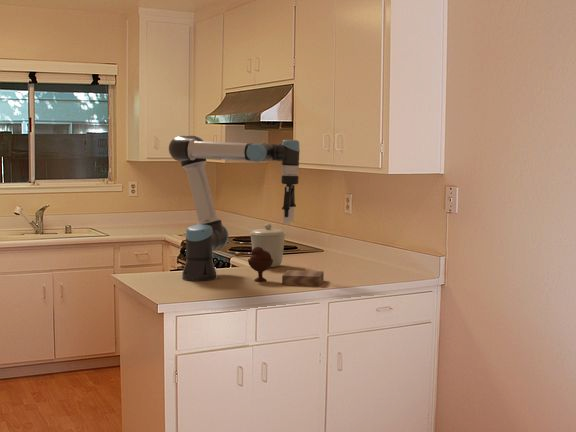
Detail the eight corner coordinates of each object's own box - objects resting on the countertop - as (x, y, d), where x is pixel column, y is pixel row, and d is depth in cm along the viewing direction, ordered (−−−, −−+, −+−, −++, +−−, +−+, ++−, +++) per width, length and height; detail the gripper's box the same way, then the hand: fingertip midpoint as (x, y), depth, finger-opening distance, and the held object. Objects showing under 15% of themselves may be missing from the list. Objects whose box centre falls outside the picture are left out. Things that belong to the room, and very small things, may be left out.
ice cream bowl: (251, 283, 332) (251, 249, 330) (245, 279, 342) (245, 245, 341) (275, 282, 334) (275, 248, 333) (269, 278, 345) (269, 245, 344)
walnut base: (282, 284, 330) (282, 275, 329) (287, 279, 343) (287, 270, 343) (319, 286, 327) (319, 276, 327) (323, 280, 341) (323, 271, 340)
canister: (264, 270, 367) (264, 226, 365) (242, 265, 381) (242, 223, 379) (293, 266, 378) (293, 223, 376) (270, 262, 392) (271, 220, 390)
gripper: (294, 176, 327) (293, 226, 329) (302, 174, 352) (300, 220, 354) (277, 176, 328) (275, 225, 330) (285, 173, 353) (284, 219, 355)
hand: (288, 223), depth 342 cm, fingers open, 13 cm apart
